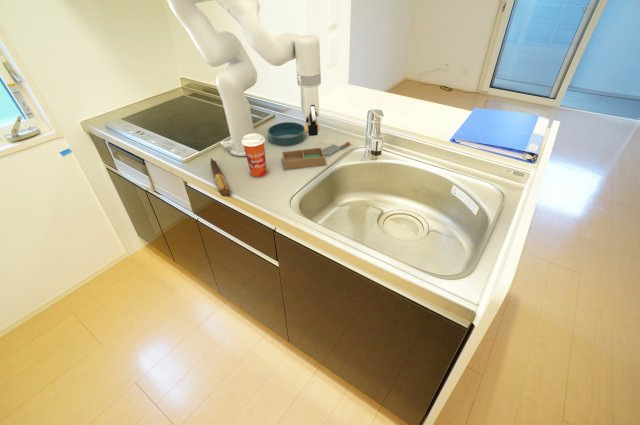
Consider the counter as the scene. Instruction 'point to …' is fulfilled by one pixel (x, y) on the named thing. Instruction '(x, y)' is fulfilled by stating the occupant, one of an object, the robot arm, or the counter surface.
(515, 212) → the counter surface
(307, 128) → the egg
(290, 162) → the divided brown tray
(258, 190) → the counter surface
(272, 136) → the bowl
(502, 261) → the counter surface
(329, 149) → the cleaver
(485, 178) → the counter surface
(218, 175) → the hand tool
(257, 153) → the paper cup
